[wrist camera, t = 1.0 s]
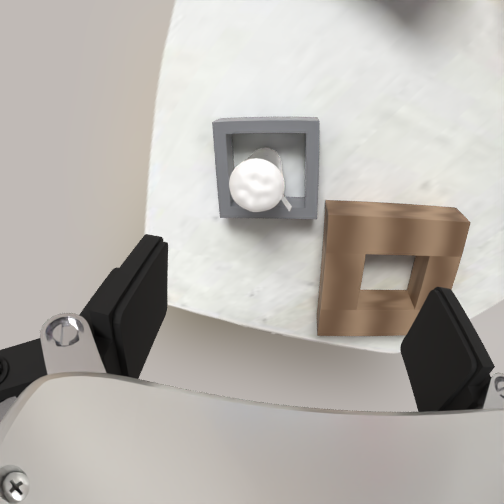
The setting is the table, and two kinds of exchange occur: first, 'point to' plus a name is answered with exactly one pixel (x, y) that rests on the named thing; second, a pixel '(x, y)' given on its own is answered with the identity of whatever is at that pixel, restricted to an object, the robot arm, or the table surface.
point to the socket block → (384, 243)
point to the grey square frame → (229, 126)
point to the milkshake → (259, 181)
